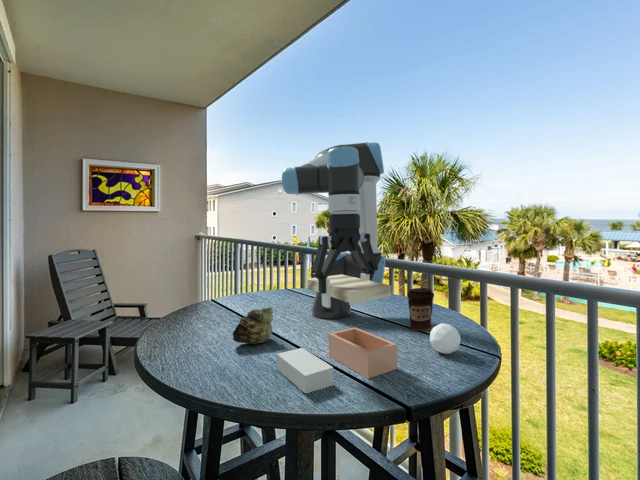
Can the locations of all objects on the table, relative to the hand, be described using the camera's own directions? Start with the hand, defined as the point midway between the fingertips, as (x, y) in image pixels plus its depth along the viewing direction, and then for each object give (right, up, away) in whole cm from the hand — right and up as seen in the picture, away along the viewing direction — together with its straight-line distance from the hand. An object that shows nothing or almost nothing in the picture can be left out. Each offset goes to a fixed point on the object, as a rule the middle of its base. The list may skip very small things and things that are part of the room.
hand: (346, 302), depth 82 cm
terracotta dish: (+4, -15, +2) cm, 16 cm away
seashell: (-26, -16, +19) cm, 36 cm away
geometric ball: (+27, -15, +7) cm, 31 cm away
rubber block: (-10, -16, -5) cm, 20 cm away
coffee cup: (+26, -14, +27) cm, 40 cm away
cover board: (0, +3, 0) cm, 3 cm away
